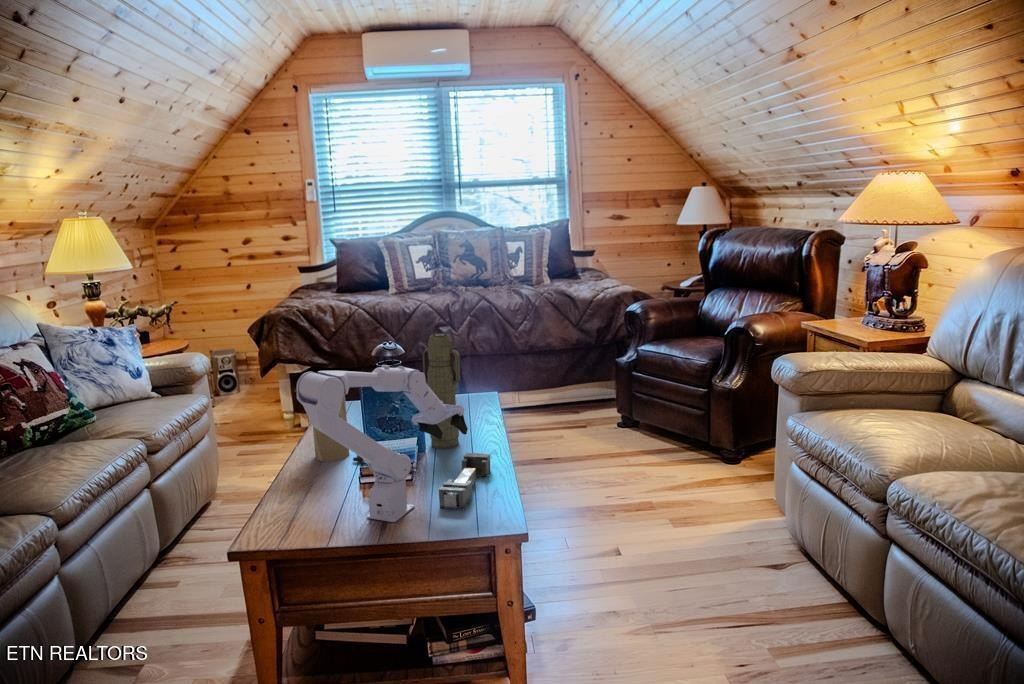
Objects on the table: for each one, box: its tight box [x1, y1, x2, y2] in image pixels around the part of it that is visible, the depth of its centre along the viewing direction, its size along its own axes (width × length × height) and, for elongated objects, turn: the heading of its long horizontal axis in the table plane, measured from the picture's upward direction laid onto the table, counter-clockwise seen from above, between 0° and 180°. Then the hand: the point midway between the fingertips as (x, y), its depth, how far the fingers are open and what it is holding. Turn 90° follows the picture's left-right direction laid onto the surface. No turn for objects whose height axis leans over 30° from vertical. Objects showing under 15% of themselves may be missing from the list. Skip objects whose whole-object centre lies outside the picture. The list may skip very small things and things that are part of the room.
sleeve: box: [438, 478, 474, 510], centre depth 179 cm, size 8×6×5 cm
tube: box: [312, 372, 350, 463], centre depth 214 cm, size 10×10×25 cm
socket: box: [461, 452, 491, 478], centre depth 197 cm, size 5×7×5 cm
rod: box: [444, 468, 477, 507], centre depth 183 cm, size 18×3×3 cm, turn 168°
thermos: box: [421, 332, 461, 450], centre depth 220 cm, size 9×12×35 cm
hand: (453, 433), depth 188 cm, fingers open, 7 cm apart
